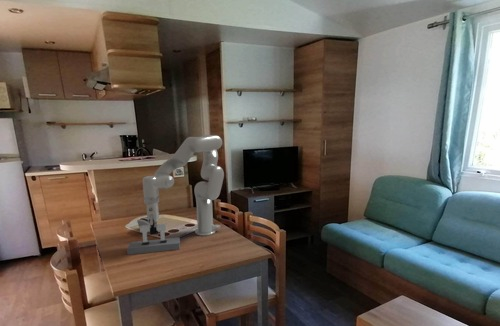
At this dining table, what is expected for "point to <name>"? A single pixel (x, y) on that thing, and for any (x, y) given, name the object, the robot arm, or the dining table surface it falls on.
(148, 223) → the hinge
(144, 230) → the clip
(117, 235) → the dining table surface
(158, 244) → the rail
